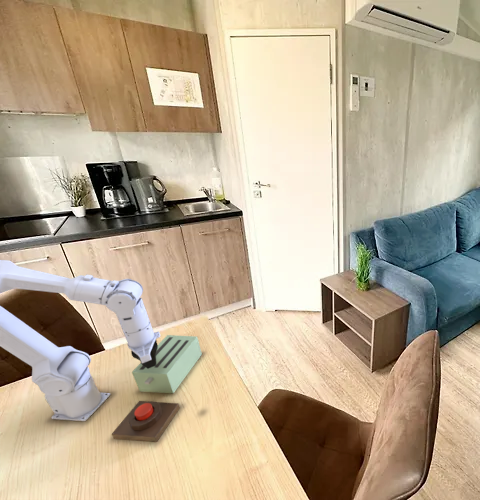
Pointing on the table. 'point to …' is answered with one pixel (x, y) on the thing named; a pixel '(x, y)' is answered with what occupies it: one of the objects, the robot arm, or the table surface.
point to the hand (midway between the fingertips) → (151, 365)
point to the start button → (143, 411)
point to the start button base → (147, 422)
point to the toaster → (169, 364)
